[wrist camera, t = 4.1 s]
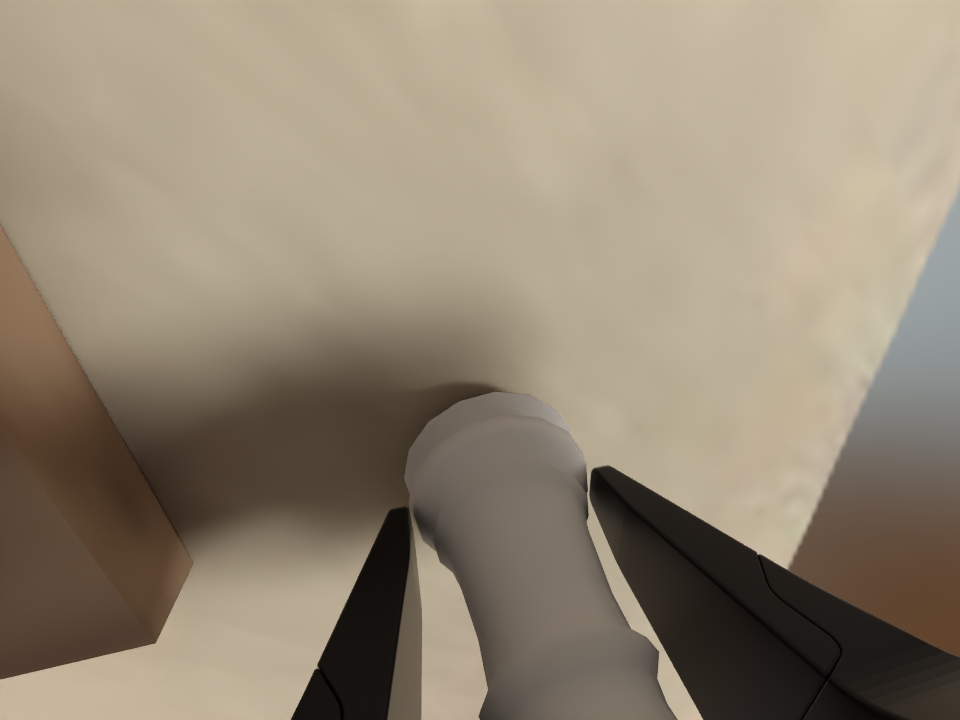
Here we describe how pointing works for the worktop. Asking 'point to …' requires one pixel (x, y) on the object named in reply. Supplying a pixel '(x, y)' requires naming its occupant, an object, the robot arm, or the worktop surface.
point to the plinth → (70, 504)
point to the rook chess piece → (529, 563)
